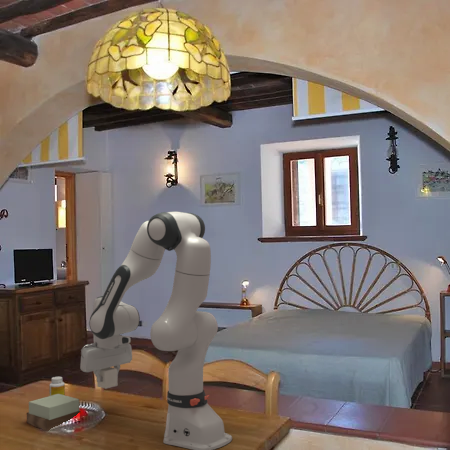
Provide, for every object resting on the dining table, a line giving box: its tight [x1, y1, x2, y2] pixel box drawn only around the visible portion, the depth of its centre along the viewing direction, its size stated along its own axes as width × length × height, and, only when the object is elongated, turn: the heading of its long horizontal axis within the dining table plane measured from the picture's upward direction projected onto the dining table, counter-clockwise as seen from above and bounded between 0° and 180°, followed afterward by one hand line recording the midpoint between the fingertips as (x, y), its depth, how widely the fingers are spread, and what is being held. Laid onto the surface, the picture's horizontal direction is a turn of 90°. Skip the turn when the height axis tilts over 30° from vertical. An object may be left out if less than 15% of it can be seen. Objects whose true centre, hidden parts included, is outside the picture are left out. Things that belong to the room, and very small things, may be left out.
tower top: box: [28, 394, 80, 420], centre depth 196 cm, size 12×12×4 cm
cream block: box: [96, 367, 118, 390], centre depth 201 cm, size 5×5×6 cm
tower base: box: [26, 410, 82, 432], centre depth 196 cm, size 13×13×4 cm
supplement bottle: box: [48, 376, 66, 396], centre depth 217 cm, size 6×6×10 cm
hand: (107, 380), depth 201 cm, fingers closed on cream block, 5 cm apart
